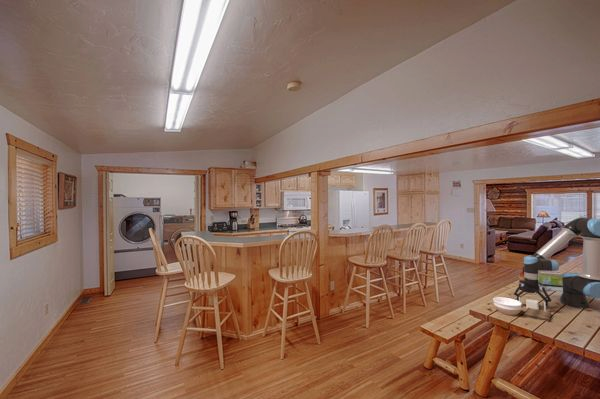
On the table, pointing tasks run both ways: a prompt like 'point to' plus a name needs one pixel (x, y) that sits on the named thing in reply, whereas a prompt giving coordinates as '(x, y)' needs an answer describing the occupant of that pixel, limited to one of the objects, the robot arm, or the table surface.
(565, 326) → the table surface
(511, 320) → the table surface
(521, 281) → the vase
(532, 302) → the cube
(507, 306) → the bowl
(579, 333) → the table surface
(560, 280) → the tea box
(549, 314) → the board
